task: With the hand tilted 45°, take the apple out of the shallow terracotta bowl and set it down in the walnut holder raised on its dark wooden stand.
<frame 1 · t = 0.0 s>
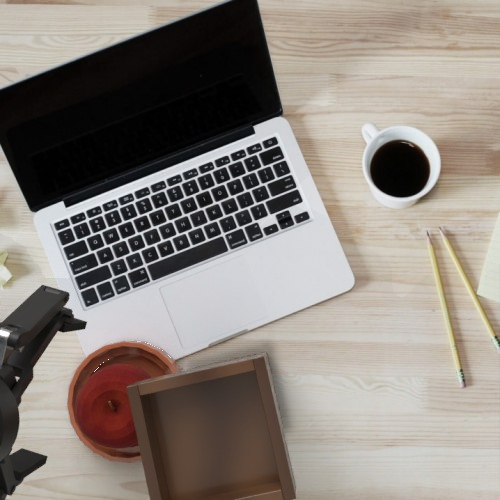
hand: (53, 388, 70), 19 cm above the table, tool pointing down, fingers open, 13 cm apart
bowl: (132, 397, 88), on the table
holder: (215, 433, 63), resting on stand
apple: (131, 398, 88), resting on bowl
stand: (238, 395, 87), on the table
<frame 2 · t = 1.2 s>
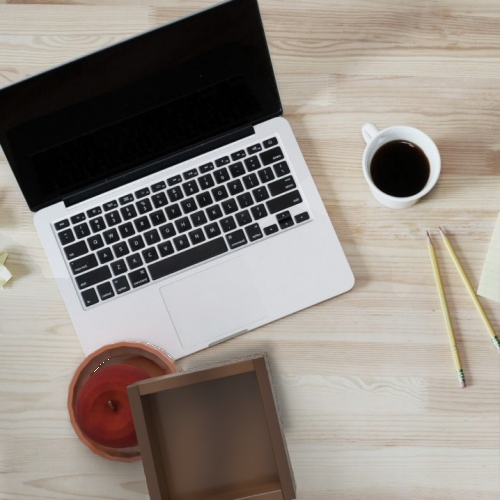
nothing on the table moved.
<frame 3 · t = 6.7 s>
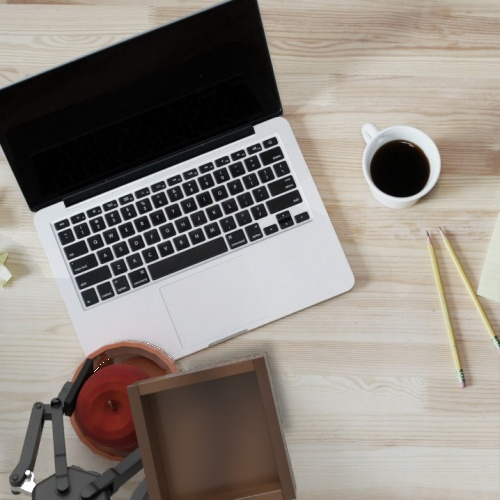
hand: (131, 377, 84), 4 cm above the table, tool tilted 45°, fingers closed on apple, 9 cm apart
apple: (131, 398, 88), resting on bowl, touching gripper
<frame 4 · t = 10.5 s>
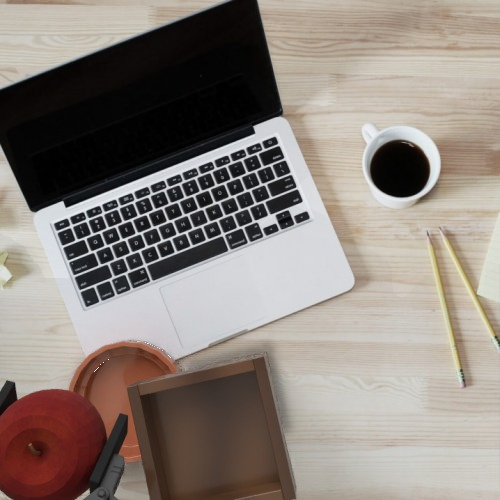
hand: (67, 406, 62), 27 cm above the table, tool tilted 45°, fingers closed on apple, 9 cm apart
apple: (72, 432, 65), point 23 cm above the table, touching gripper
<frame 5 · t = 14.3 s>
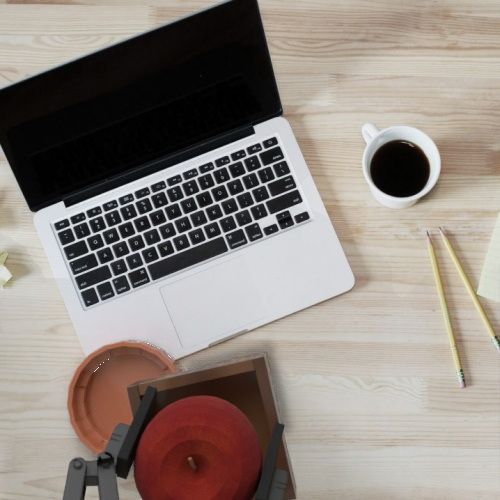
hand: (214, 415, 56), 32 cm above the table, tool tilted 45°, fingers closed on apple, 9 cm apart
apple: (209, 444, 59), point 28 cm above the table, touching gripper
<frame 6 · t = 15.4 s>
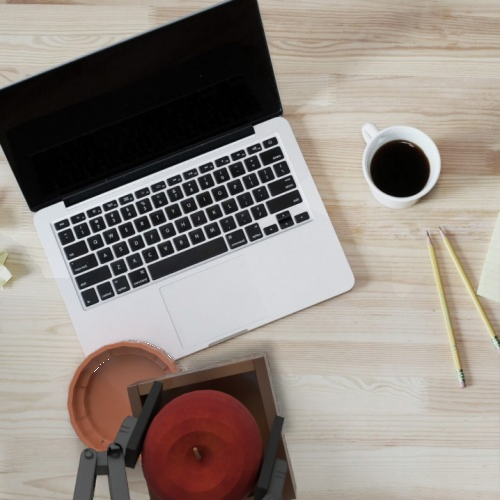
hand: (217, 408, 58), 29 cm above the table, tool tilted 45°, fingers closed on apple, 9 cm apart
apple: (212, 436, 62), point 25 cm above the table, touching gripper
when the fingers open (30 cm above the table, at t = 22.0 s): apple drops 1 cm, resting on holder.
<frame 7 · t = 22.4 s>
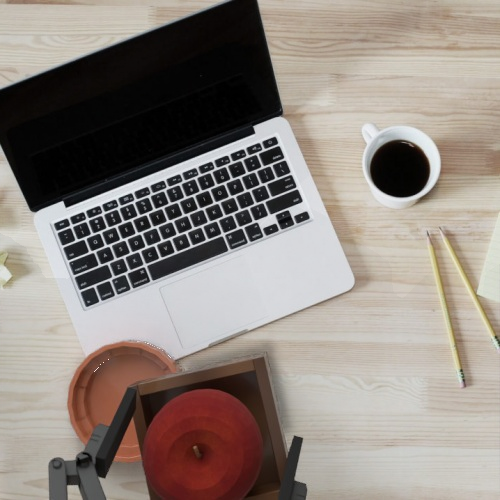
hand: (213, 421, 57), 31 cm above the table, tool tilted 45°, fingers open, 13 cm apart
apple: (213, 435, 63), point 25 cm above the table, touching holder
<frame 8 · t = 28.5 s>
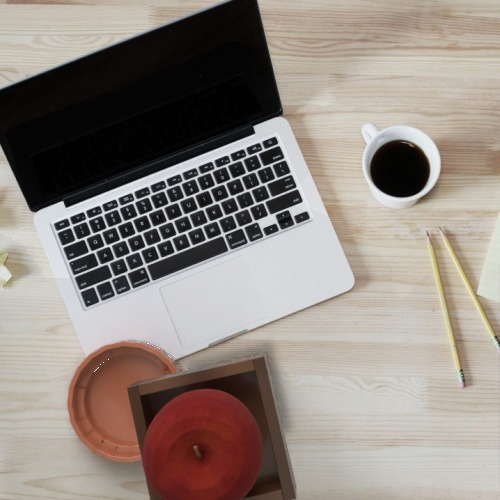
nothing on the table moved.
at the end: apple inside the target area on the holder (0.1 cm from its centre), point 0.6 cm above the holder's base; the gripper is holding nothing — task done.
